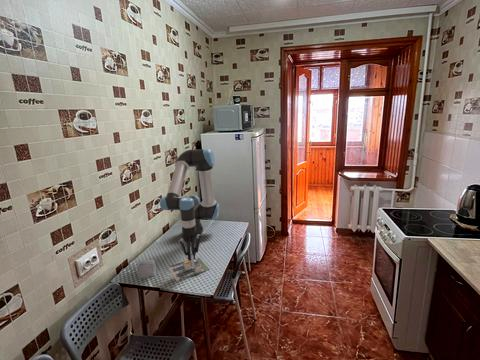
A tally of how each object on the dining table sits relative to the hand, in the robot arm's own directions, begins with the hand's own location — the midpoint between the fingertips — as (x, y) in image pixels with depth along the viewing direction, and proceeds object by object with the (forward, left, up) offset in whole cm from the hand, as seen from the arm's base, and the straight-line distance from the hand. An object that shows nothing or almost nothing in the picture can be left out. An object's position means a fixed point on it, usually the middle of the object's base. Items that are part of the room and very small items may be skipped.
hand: (192, 264), depth 147 cm
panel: (0, -1, -3) cm, 3 cm away
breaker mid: (0, -3, -2) cm, 3 cm away
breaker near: (+6, +1, -2) cm, 6 cm away
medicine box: (-8, -23, -4) cm, 24 cm away
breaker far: (-6, +1, -2) cm, 7 cm away
